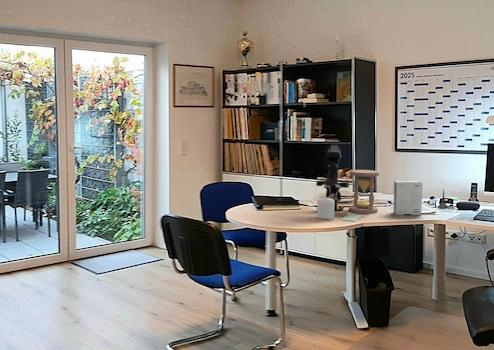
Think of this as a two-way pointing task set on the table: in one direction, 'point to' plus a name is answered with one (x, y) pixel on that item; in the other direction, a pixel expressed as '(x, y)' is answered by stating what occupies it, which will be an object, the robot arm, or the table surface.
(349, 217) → the mat
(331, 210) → the photo printer
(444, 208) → the eiffel tower figurine
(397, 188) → the hard drive box
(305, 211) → the table surface
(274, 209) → the table surface
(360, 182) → the hourglass
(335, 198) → the turner
